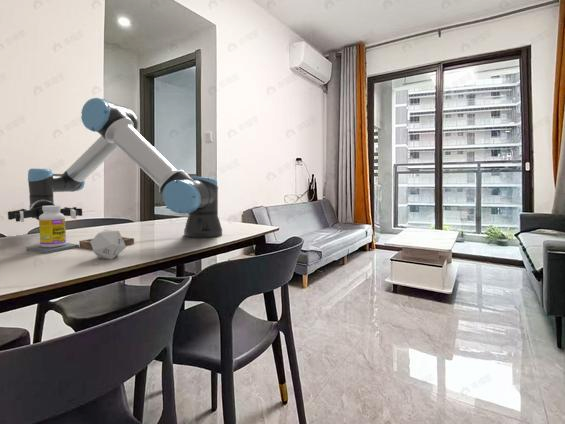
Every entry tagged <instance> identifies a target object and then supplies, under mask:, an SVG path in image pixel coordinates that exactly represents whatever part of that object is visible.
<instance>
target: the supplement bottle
mask: <svg viewBox="0 0 565 424" xmlns="http://www.w3.org/2000/svg"><path fill="white" fill-rule="evenodd" d="M60 209H62V208H61V205H58V204H57V205H55V204H54V205H50V206H42V210H43V214H41V215H40V216H39V220H38V224H39V227H38V228H39V241H40V245H41V247H45V248H53V247H60V246H64V245H65V244H66V243H67V233H66V216H64V215H63V214H62V213H60Z"/></svg>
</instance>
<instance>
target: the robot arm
mask: <svg viewBox="0 0 565 424" xmlns="http://www.w3.org/2000/svg"><path fill="white" fill-rule="evenodd" d="M80 113H81V116H80V117H81V122H82V123H83V124H82V125H83V127H85V129H87V130H89V131H91V132H95V133H98V134H99V135H100V137H98V139H96V141H95V142H93V143H92V144H91V146H89V147H88V148H87V150H85V151H84V153H82V154H81V155H80V156H79V157H78V158H77V159H76V160H75V161H74V162H73V163H72V164H71V165H70V166H69V167H68V168H67V169H66V170H65V171H64V172H63V173H53V171H52V169H50V168H29V169H28V171H27V182H28V192H29V197H28V198H29V209H25V208H19V209H17V210H9V211H7V219H8V220H10V221H12V220H15V222H16V223H17V222H21V223H23V222H25V219H30V218H31V219H35V220H37V221H39V216H40V215H41V214H43V210H42V206H50V205H55V204H54V202H55V201H54V193H66V192H67V193H68V192H72V193H73V192H78V191H81V190H83V189H84V188H85V184H86V181H85V180H86V179H88V178H89V177H90V176H91V174H93V173H94V172H95V171H96V170H97V169H98V168H99V167H100V166H101V165H102V164H103V163H105V161H106V160H107V159H108V158H110V157H111V156H112V155H113V154H114V153H115V152H116V151H117V150H118V149H119V148H120V150H122V151H123V153H124V154H126V155H127V156H128V157H129V158H130V159H131V160H132V162H134V163H135V164H136V165H137V166H138V167H139V168H140V169H141V170H142V171H143V172H144V173H145V174H146V175H147V176H149V178H150V179H151V180H152V181H153V182H154V183H155V184H156V185H157V186H158V187H159V191H158V192H159V194H161V196H162V198H163V199H162V201H163V204H164V205H165V206H166V208H168V209H169V210H170V211H171V212H174V213H175V214H184V215H185V214H187V215H188V216H187V219H186V223H185V226H184V227H185V228H184V230H183V235H184V237H188V238H193V239H194V238H196V239H197V238H200V239H202V238H204V239H205V238H215V237H220V236H222V235H223V228H222V225H221V221H220V218H219V213H218V212H219V211H218V210H219V209H218V208H219V205H218V203H219V202H218V201H219V199H218V198H219V197H218V196H219V193H218V191H219V186H218V181H217V180H216V178H213V177H205V176H190V175H189V174H188V173H186V171H185V170H183V169H180V170H179V169H176V168H175V167H174V165H172V164H171V162H170V161H168V160H167V159H166V157H164V156H163V155H162V154H161V153H160V152H159V151H158V150H157V149H156V148H155V147H154V146H153V145H152V144H151V143H150V142H149V141H148V140H146V138H145V137H144V136H142V134H141V133H140V132H139V131H138V129H139V121H138V118H137V116H136V114H135V113H134V112H133V110H132V109H130V108H129V107H127V106H124V105H121V104H118V103H114V102H111V101H109V100H107V99H104V98H99V97H93V98H90V99H88V100H87V101H86V102H85V103H84V104H83V105H82V108H81V112H80ZM60 213H62V214H63V215H64V216H65V217H70V218H72V219H74V220H76V219H77V217H78V216H79V217H82V216H83V208H78V207H77V206H73V207H65V206H64V207H63V208H61V209H60Z"/></svg>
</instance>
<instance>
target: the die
mask: <svg viewBox="0 0 565 424" xmlns="http://www.w3.org/2000/svg"><path fill="white" fill-rule="evenodd" d="M122 237H123V236H122V235H121V232H120V231H119V230H109V229H104V230H102V231H99V232H98V233H97V234H96V235H95V236H94V237H93V238H91V239H92V240H91V241H90V243H91V245H92V248H93V249H92V250H93V253H94V254H95V255H96V257H97V258H98V259H104V260H113V259H114V258H116V257H117V256H119V254H121V253H122V252H123V251H124V250H125V249H126V248H127V246H126V245H125V243H124V241H123V239H122Z"/></svg>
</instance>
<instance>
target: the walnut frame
mask: <svg viewBox="0 0 565 424" xmlns="http://www.w3.org/2000/svg"><path fill="white" fill-rule="evenodd" d="M121 237H122V239H123V241H124V243H125V245H126V247H127V246H133V245H134V244H135V238H134V237H127V236H121ZM92 239H93V238H88V239H83V240H79V244H78V245H79V248H86V249H89V250H90V249H91V250H93V248H92V245H91V243H90V241H91V240H92Z"/></svg>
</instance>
